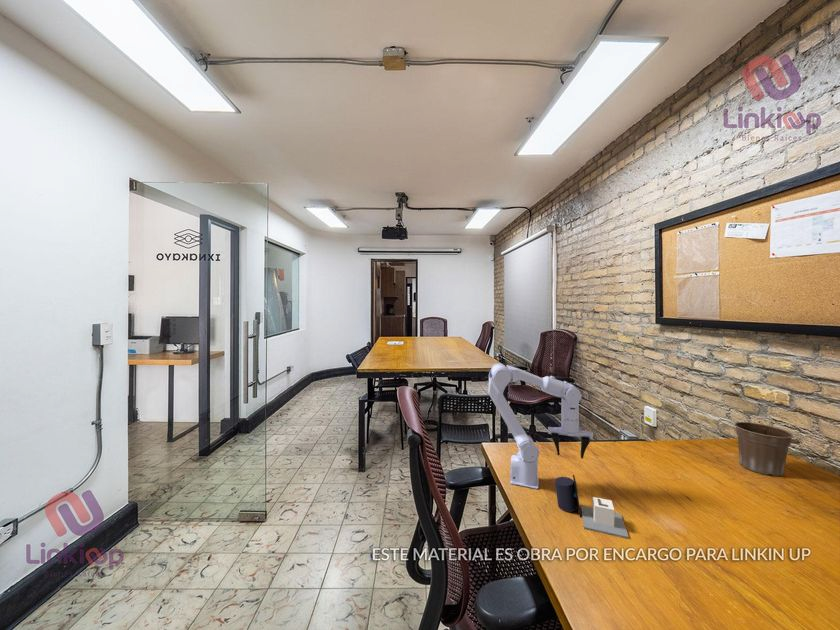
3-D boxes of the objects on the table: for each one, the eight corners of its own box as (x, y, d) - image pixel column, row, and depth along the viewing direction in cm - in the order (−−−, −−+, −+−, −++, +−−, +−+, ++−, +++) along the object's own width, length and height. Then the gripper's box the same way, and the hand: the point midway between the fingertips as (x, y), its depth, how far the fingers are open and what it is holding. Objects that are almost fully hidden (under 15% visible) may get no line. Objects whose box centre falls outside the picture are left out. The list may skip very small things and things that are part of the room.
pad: (584, 528, 94) (584, 526, 94) (580, 507, 104) (580, 505, 104) (628, 538, 90) (628, 537, 90) (620, 515, 100) (620, 513, 100)
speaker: (585, 508, 104) (582, 475, 104) (581, 517, 99) (577, 483, 99) (560, 501, 108) (557, 470, 109) (555, 510, 104) (551, 477, 104)
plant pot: (796, 472, 128) (797, 431, 128) (788, 484, 119) (789, 440, 119) (739, 456, 142) (740, 419, 141) (728, 466, 133) (729, 426, 132)
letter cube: (594, 522, 96) (594, 505, 96) (592, 512, 101) (592, 496, 101) (614, 527, 94) (614, 509, 94) (611, 516, 99) (611, 499, 99)
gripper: (548, 419, 117) (548, 457, 117) (594, 424, 111) (594, 463, 111) (548, 413, 123) (548, 449, 123) (591, 417, 118) (591, 455, 118)
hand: (570, 455), depth 118 cm, fingers open, 7 cm apart
